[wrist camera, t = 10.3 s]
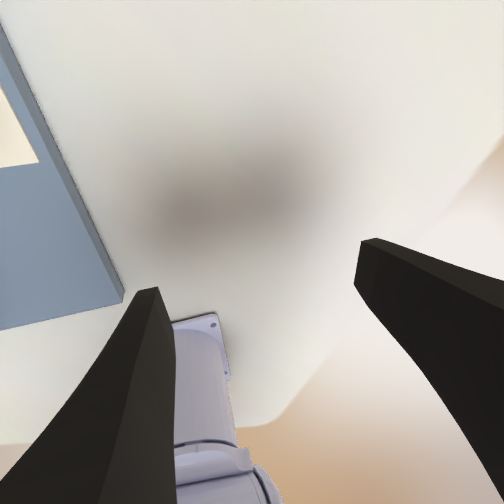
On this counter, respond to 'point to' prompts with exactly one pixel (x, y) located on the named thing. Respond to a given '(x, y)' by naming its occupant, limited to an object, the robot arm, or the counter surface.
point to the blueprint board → (42, 218)
